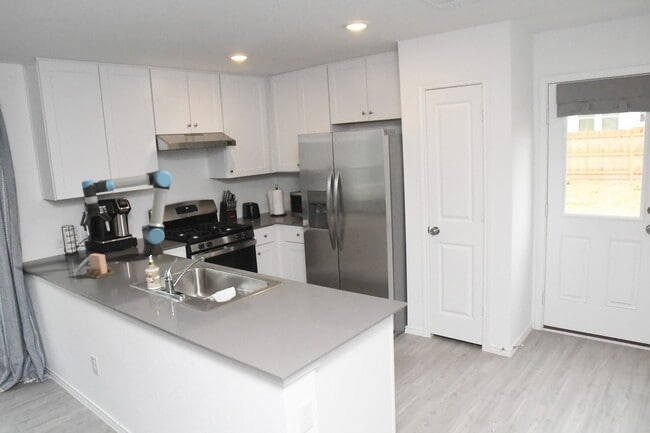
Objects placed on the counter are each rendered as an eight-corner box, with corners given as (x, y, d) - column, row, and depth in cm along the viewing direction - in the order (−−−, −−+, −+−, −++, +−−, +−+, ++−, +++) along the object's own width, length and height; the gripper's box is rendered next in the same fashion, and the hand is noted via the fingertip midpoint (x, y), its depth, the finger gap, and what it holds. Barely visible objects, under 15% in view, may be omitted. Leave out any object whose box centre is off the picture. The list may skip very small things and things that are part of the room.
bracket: (95, 261, 335) (89, 250, 329) (81, 281, 318) (75, 271, 312) (91, 261, 336) (85, 250, 330) (77, 281, 318) (70, 271, 313)
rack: (85, 275, 303) (84, 270, 302) (102, 271, 313) (101, 265, 312) (97, 278, 294) (96, 272, 294) (114, 273, 304) (113, 267, 303)
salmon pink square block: (91, 272, 305) (89, 254, 303) (97, 270, 308) (95, 253, 306) (101, 274, 298) (98, 256, 296) (107, 272, 301) (104, 254, 299)
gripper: (108, 199, 326) (114, 228, 330) (70, 206, 309) (77, 236, 313) (112, 199, 321) (118, 229, 325) (74, 206, 304) (81, 237, 307)
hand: (98, 233), depth 319 cm, fingers open, 13 cm apart
